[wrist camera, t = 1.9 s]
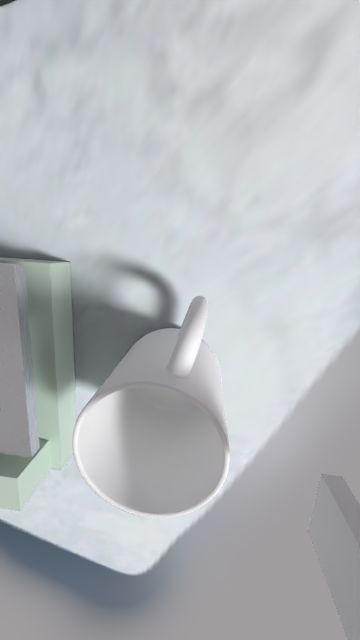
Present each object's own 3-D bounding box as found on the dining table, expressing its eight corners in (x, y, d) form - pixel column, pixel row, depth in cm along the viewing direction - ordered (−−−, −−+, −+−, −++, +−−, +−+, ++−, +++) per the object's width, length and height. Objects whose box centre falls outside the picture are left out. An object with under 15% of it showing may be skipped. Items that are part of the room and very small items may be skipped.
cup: (116, 394, 25) (57, 487, 15) (155, 269, 22) (111, 285, 12) (201, 424, 25) (197, 538, 15) (252, 304, 21) (290, 348, 12)
